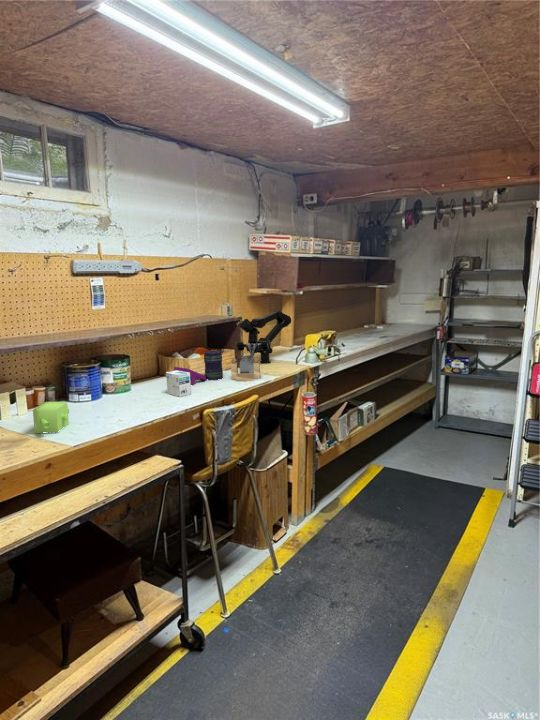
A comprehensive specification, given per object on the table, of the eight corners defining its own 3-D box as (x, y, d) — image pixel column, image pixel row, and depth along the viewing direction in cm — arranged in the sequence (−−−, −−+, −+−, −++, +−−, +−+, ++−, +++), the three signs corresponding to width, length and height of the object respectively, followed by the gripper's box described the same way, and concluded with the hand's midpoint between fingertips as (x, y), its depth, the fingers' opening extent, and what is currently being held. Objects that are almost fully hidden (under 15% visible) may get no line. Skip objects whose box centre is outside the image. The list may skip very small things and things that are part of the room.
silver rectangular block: (245, 372, 269) (244, 355, 267) (254, 372, 269) (253, 355, 267) (240, 380, 249) (239, 361, 248) (249, 380, 249) (249, 361, 247)
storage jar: (215, 381, 248) (214, 353, 246) (201, 379, 254) (199, 352, 251) (226, 377, 257) (225, 350, 254) (212, 376, 262) (211, 349, 259)
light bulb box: (191, 394, 221) (190, 372, 220) (180, 397, 217) (178, 374, 215) (178, 391, 229) (176, 369, 227) (166, 394, 224) (165, 372, 222)
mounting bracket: (193, 390, 254) (169, 382, 240) (197, 375, 256) (174, 366, 242) (206, 392, 249) (182, 384, 235) (210, 377, 250) (187, 368, 236)
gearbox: (57, 438, 166) (55, 413, 164) (29, 438, 166) (26, 413, 164) (76, 422, 184) (74, 399, 182) (50, 422, 183) (48, 398, 181)
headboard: (232, 379, 252) (231, 357, 250) (260, 378, 251) (259, 357, 249) (230, 381, 247) (229, 359, 245) (259, 381, 245) (258, 359, 243)
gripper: (269, 343, 292) (268, 364, 283) (239, 344, 294) (238, 365, 285) (267, 332, 283) (267, 354, 274) (237, 333, 285) (235, 354, 276)
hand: (251, 357), depth 278 cm, fingers closed
